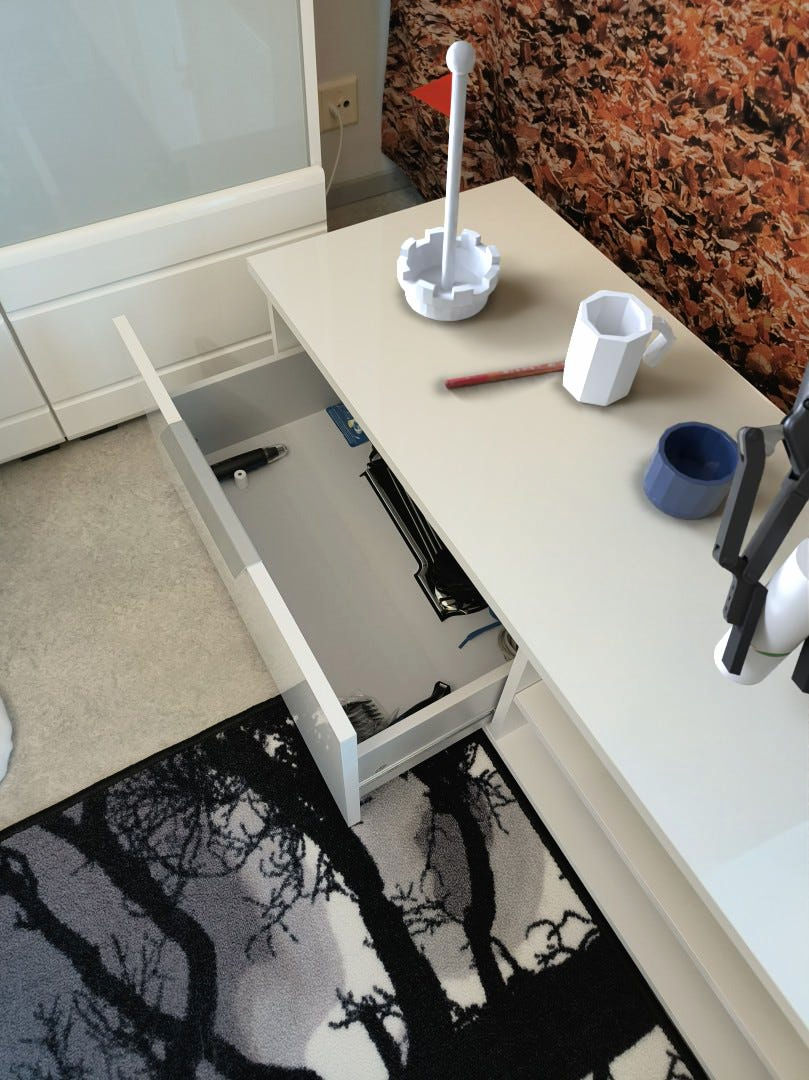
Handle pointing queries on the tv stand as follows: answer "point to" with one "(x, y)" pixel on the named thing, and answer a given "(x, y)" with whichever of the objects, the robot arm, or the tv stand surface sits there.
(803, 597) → the tube
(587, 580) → the tv stand surface
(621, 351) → the mug
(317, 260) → the tv stand surface
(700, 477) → the cup
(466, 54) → the flag stand
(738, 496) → the robot arm
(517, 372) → the pencil
